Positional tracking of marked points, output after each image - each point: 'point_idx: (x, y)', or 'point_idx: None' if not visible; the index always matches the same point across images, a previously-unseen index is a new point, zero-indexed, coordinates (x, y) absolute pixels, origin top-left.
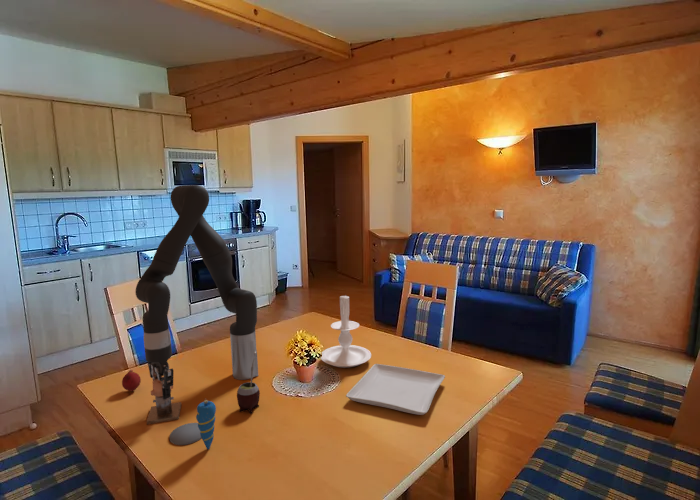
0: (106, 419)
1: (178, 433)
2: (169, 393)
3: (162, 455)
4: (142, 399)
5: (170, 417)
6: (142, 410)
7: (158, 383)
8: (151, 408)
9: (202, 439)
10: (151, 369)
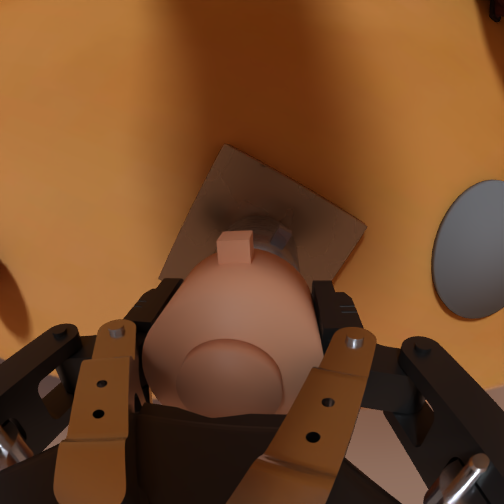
0: None
1: (470, 283)
2: (354, 310)
3: (492, 352)
4: (56, 261)
5: (344, 259)
6: None
7: None
8: None
9: None
10: (51, 429)
